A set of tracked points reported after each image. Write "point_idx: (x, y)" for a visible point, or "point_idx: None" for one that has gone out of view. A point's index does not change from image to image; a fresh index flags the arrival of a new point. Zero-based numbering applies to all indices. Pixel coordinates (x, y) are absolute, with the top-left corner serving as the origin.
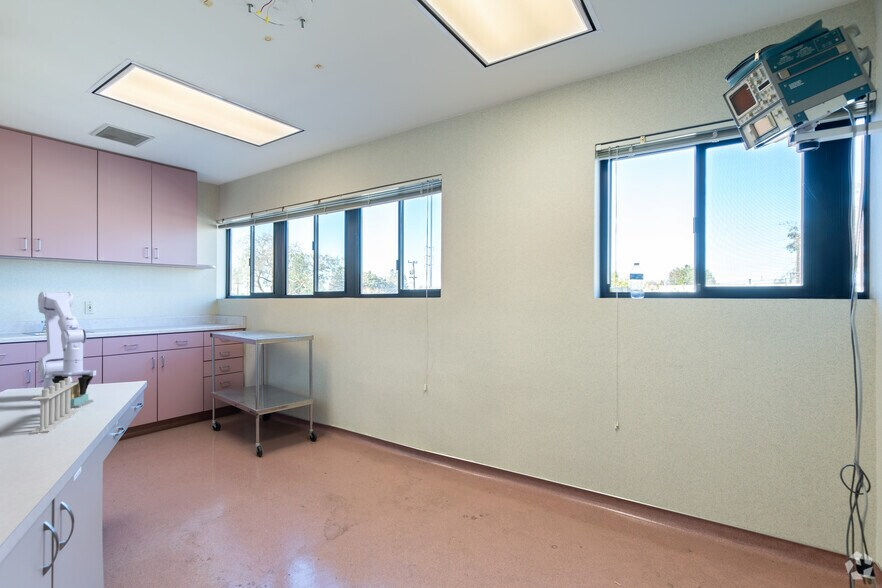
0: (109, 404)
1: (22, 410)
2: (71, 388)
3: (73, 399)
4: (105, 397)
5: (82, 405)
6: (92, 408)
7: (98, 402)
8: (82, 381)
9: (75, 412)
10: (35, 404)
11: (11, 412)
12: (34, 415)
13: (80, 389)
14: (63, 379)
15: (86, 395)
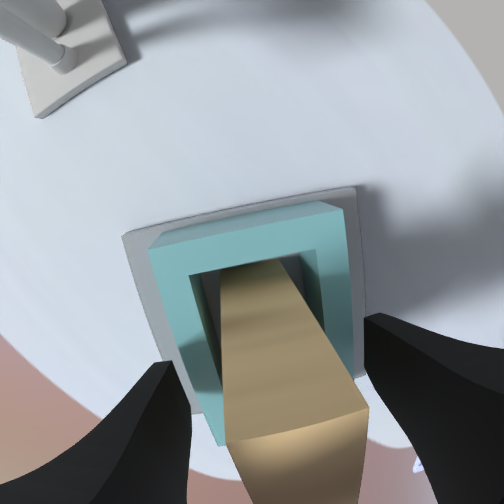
0: (12, 329)
1: (484, 165)
2: (237, 373)
3: (155, 247)
4: (209, 474)
5: (141, 286)
6: (17, 221)
7: (130, 387)
8: (43, 481)
9: (23, 72)
10: (493, 304)
11: (497, 124)
12: (305, 6)
13: (141, 398)
14: (474, 481)
15: (210, 422)
